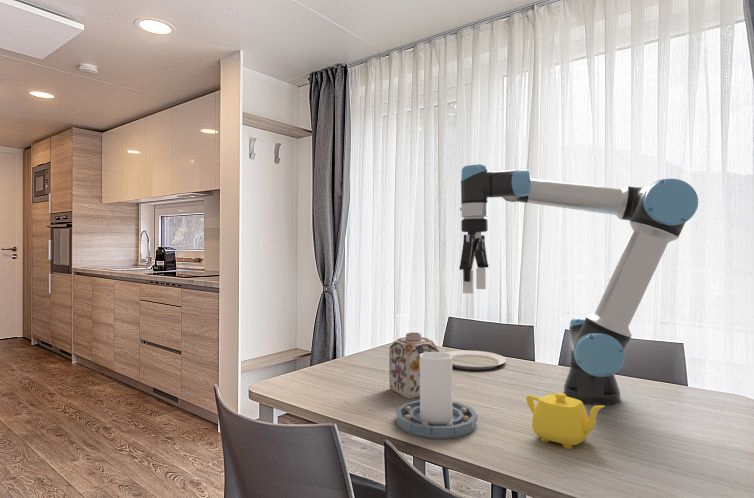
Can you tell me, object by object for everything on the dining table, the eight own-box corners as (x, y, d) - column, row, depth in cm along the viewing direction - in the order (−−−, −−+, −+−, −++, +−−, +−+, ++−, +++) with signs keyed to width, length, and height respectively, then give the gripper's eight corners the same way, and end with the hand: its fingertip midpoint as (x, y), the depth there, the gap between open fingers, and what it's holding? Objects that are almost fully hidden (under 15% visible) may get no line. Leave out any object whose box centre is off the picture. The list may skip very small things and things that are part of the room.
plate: (427, 358, 186) (427, 353, 186) (483, 353, 194) (483, 348, 194) (457, 374, 162) (457, 369, 162) (520, 368, 170) (520, 363, 170)
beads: (478, 412, 122) (478, 405, 122) (458, 436, 106) (458, 429, 106) (417, 402, 130) (417, 396, 130) (390, 423, 114) (390, 416, 114)
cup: (451, 425, 113) (451, 359, 113) (418, 422, 115) (417, 358, 115) (453, 413, 121) (452, 352, 121) (421, 411, 123) (421, 351, 123)
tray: (485, 416, 122) (485, 406, 122) (462, 445, 104) (462, 433, 104) (415, 404, 131) (415, 395, 131) (383, 429, 114) (383, 419, 114)
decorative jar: (388, 388, 146) (388, 332, 146) (419, 383, 151) (419, 328, 151) (408, 400, 136) (407, 338, 135) (440, 393, 141) (440, 334, 141)
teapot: (613, 444, 104) (613, 397, 104) (595, 461, 96) (595, 410, 96) (536, 423, 117) (536, 381, 117) (515, 436, 109) (515, 391, 109)
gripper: (473, 220, 148) (474, 287, 148) (448, 216, 126) (448, 294, 126) (497, 220, 144) (497, 287, 145) (475, 215, 122) (475, 295, 123)
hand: (474, 291), depth 135 cm, fingers open, 13 cm apart
